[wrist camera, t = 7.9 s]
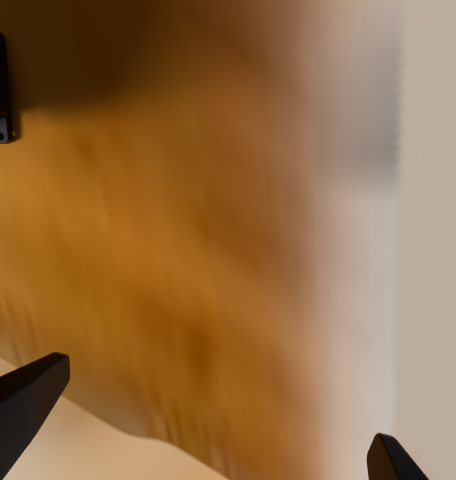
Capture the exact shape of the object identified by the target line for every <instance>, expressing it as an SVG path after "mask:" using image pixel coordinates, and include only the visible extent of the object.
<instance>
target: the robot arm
mask: <svg viewBox="0 0 456 480" xmlns="http://www.w3.org/2000/svg"><path fill="white" fill-rule="evenodd" d="M2 133H3V134H4V138H3V136H2ZM12 139H13V135H12V124H11V112H10V100H9V88H8V76H7V65H6V53H5V41H4V36H3V35H2V33H1V32H0V144H9V143H11V142H12ZM69 379H70V361H69V356H68V355H67V354H63V353H59V352H54V353H51V354H49V355H47V356H44V357H42V358H40V359H38V360H36V361H33V362H31V363H29V364H27V365H25V366H22V367H20V368H18V369H16V370H14V371H11V372H9V373H7V374H5V375H3V376H1V377H0V480H3V478H4V477H5V476H6V474H7V473H8V472H9V470H10V469H11V468H12V466H13V465H14V464H15V462H16V461H17V460H18V458H19V457H20V456H21V454H22V453H23V451H24V450H25V449H26V448H27V446H28V445H29V444H30V442H31V441H32V439H33V438H34V437H35V435H36V434H37V432H38V431H39V429H40V428H41V426H42V425H43V423H44V421H45V420H46V418H47V416H48V415H49V413H50V412H51V410H52V408H53V407H54V405H55V404H56V402H57V400H58V399H59V397H60V395H61V394H62V392H63V391H64V389H65V387H66V386H67V384H68V382H69ZM367 468H368V476H369V480H429V479H428V478H427V477H426V475H425V474H424V473H423V472H422V470H421V469H420V468H419V467H418V466H417V464H416V463H415V462H414V461H413V459H412V458H411V457H410V456H409V454H408V453H407V452H406V451H405V449H404V448H403V447H402V446H401V445H400V443H399V442H398V441H397V440H396V439H395V438H394V437H393V436H390V435H386V434H382V433H377V434H376V435H375V437H374V439H373V442H372V444H371V446H370V449H369V451H368V454H367Z"/></svg>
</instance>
